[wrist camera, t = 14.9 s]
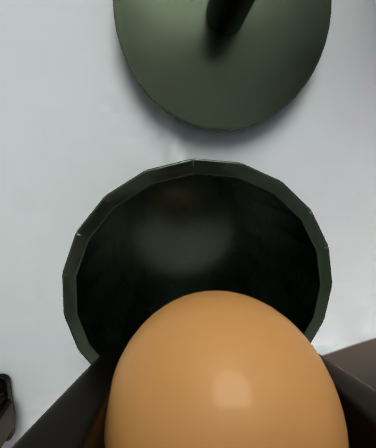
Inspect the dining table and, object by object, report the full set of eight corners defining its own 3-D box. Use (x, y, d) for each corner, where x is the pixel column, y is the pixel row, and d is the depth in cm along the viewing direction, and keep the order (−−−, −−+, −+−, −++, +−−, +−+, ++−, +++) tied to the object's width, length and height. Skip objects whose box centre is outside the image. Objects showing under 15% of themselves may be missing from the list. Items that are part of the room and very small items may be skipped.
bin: (106, 312, 20) (66, 409, 12) (107, 155, 17) (56, 146, 9) (253, 316, 21) (304, 405, 13) (276, 170, 18) (358, 173, 10)
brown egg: (125, 394, 8) (66, 713, 3) (126, 257, 7) (44, 444, 2) (265, 392, 9) (386, 668, 4) (287, 263, 8) (494, 427, 3)
